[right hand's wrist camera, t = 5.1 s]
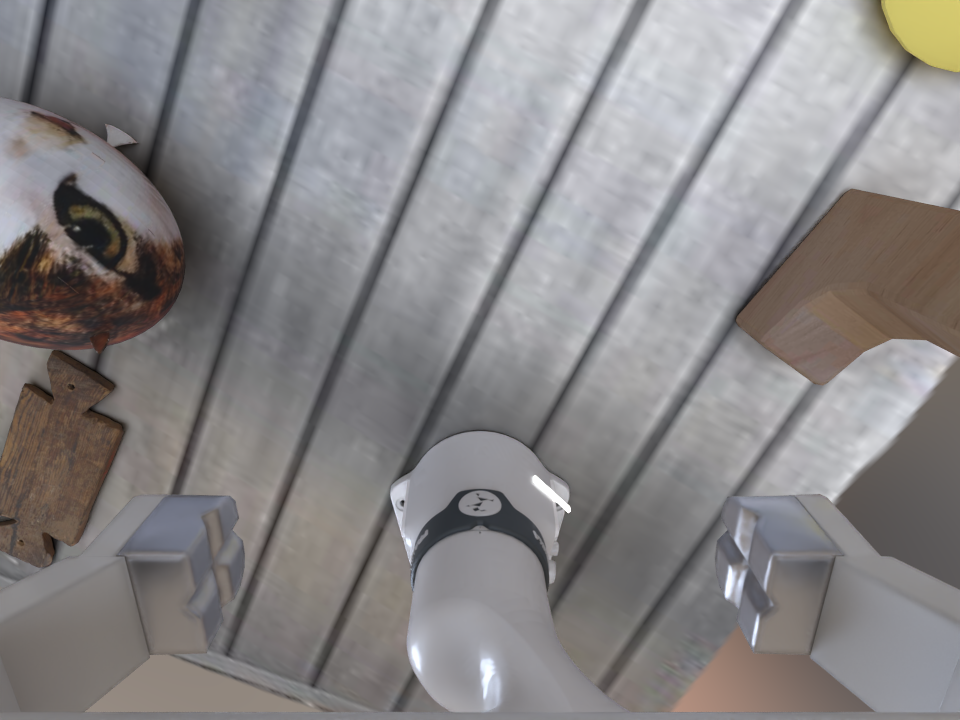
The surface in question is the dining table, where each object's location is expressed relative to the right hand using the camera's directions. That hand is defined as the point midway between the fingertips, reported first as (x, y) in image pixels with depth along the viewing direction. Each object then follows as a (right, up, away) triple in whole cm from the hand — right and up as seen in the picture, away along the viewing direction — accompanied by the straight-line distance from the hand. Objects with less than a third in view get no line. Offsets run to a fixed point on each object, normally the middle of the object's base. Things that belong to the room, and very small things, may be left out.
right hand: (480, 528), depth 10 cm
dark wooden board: (-44, -8, +55) cm, 71 cm away
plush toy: (-34, +16, +45) cm, 59 cm away
